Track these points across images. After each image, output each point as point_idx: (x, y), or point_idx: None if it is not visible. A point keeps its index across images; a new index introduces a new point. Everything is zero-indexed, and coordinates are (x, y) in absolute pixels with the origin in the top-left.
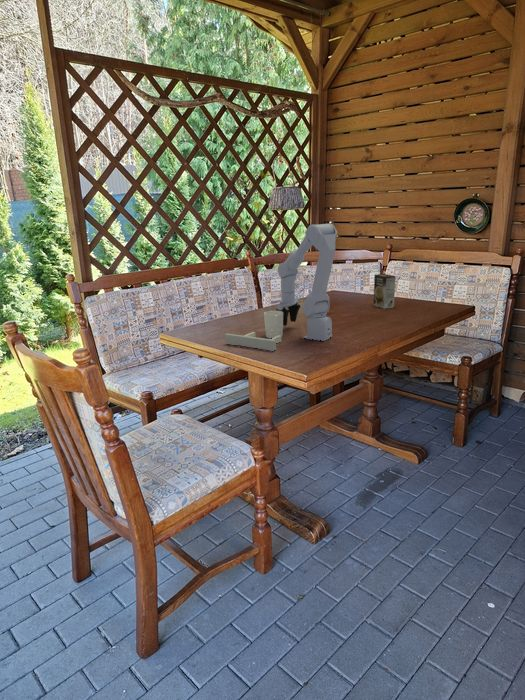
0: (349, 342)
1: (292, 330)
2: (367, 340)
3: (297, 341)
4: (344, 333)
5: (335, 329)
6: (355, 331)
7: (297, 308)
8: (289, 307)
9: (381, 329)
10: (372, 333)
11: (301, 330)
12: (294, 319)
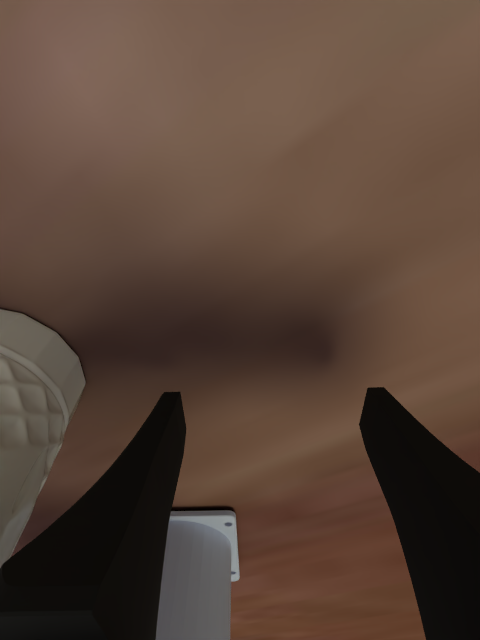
0: None
1: (269, 388)
2: (252, 634)
3: (50, 509)
4: (322, 581)
5: (391, 544)
6: (375, 594)
7: (425, 628)
8: (475, 567)
9: None
10: (360, 625)
11: (297, 434)
12: (368, 443)
